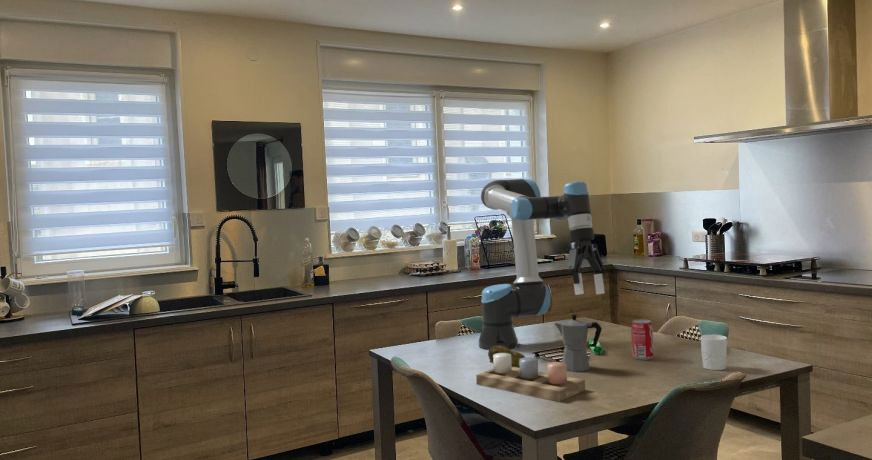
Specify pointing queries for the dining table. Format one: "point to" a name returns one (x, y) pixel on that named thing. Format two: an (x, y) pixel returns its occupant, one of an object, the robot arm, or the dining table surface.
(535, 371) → the slate egg
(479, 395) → the dining table surface
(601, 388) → the dining table surface
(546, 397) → the wooden egg rack
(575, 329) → the coffeepot
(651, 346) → the soda can
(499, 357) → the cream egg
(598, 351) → the candy
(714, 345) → the white cup
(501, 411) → the dining table surface
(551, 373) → the pink egg
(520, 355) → the potato
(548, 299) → the robot arm
